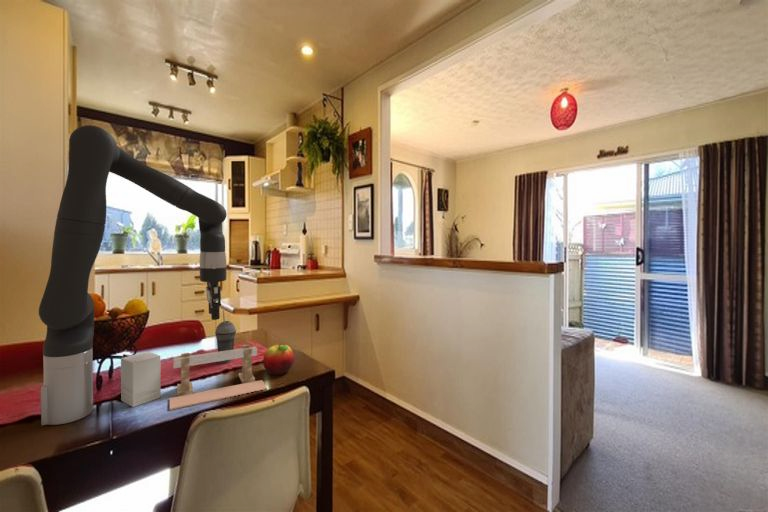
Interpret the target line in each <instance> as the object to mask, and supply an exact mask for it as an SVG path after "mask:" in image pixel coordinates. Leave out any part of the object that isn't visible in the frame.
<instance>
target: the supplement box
mask: <svg viewBox="0 0 768 512" xmlns="http://www.w3.org/2000/svg"><path fill="white" fill-rule="evenodd" d="M161 384H162V383H161V355H160V354H157V353H154V352H151V351H144V352H140V353H136V354H132V355H128V356H124V357H121V358H120V393H121V394H120V396H121V398H120V400H121V401H122V402H123V403H125V404H127V405H129V406H130V407H132V408H134V407H138V406H141V405H142V404H146V403H149V402H152V401H154V400H157V399H159V398H161V395H162V394H161V391H162V390H161Z"/></svg>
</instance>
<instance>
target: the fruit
mask: <svg viewBox="0 0 768 512" xmlns="http://www.w3.org/2000/svg"><path fill="white" fill-rule="evenodd" d="M294 355H295V354H294V352H293V349H292V348H291V347H290V346H289V345H287V344H282V343H279V344H275V345H272V346H270V347H269V348H268V349H267V350H266V351H265V352H264V355H263V359H262V364H263V365H262V366H263V368H264V369H265V371H266V372H268V373H269V374H271V375H276V376H277V375H283V374H285V373H287V372H289V370H290V369H291V368H292V367H293V365H294V363H295V356H294Z"/></svg>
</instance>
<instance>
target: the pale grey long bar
mask: <svg viewBox="0 0 768 512" xmlns="http://www.w3.org/2000/svg"><path fill="white" fill-rule="evenodd" d="M248 348H252V357H255V356H258V347H256V346H249V347H248ZM245 349H247V348H243V347H242V348H235V349H234V348H233V350H227V351H220V352H218V351H214V352H206V353H200V354H194V355H192V354H191V355H189V356H184V357H189V367H190V366H191V367H192V366H197V365H204V364H209V363H216V362H219V361H224V360H231V359H232V360H236V359H242V358H243V357H245ZM184 357H181V356H177V357H173V369H177V368H181V367H182V358H184Z"/></svg>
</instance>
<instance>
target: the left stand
mask: <svg viewBox="0 0 768 512" xmlns="http://www.w3.org/2000/svg"><path fill="white" fill-rule="evenodd" d="M180 354H181V355H180V357H184V356H190V354H189V352H184V353H180ZM176 386H177V387H176V390H177V392H176V393H177V397H178V396H183V395H188V394H193V393H194V386H193V382H192V381H191V382H190V366H189V357H184V358H182V367H180V383H177V385H176Z"/></svg>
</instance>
